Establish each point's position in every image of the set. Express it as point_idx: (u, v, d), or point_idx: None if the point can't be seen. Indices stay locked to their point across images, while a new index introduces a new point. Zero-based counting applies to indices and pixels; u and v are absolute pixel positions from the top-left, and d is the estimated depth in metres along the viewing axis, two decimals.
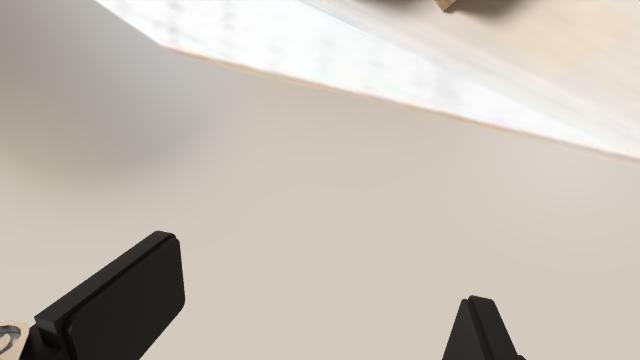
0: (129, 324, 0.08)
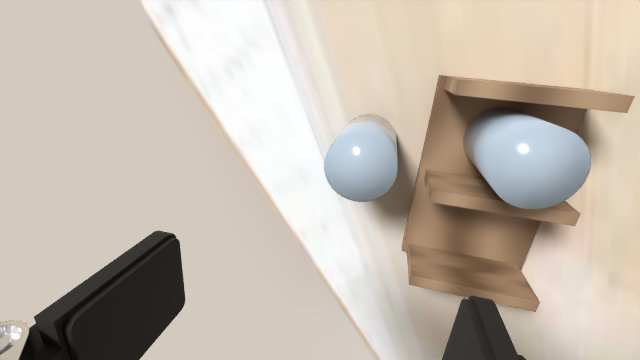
0: (129, 324, 0.08)
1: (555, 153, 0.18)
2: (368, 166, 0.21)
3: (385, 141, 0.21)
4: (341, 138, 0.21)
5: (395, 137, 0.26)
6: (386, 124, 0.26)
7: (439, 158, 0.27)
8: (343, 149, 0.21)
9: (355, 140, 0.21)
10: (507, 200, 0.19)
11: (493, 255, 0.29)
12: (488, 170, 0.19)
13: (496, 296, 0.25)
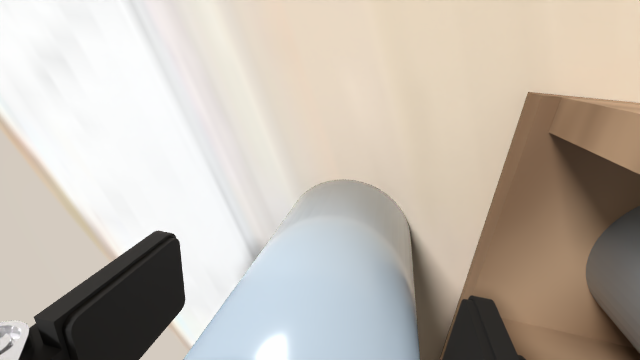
0: (129, 324, 0.08)
1: None
2: None
3: None
4: None
5: (409, 249, 0.10)
6: (386, 218, 0.10)
7: (517, 295, 0.11)
8: None
9: None
10: None
11: None
12: None
13: None
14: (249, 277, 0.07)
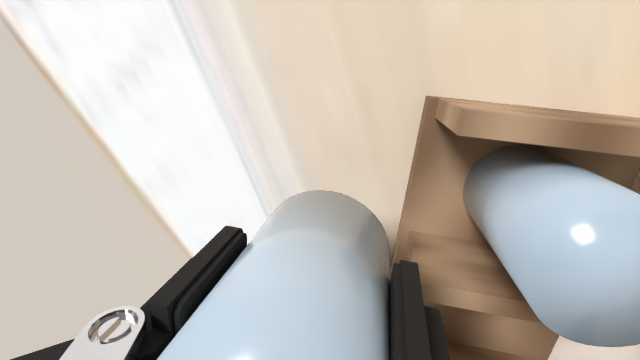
0: None
1: None
2: None
3: None
4: None
5: (385, 263, 0.10)
6: (361, 231, 0.10)
7: (428, 216, 0.18)
8: None
9: None
10: (558, 330, 0.10)
11: (505, 347, 0.20)
12: (523, 277, 0.10)
13: None
14: (209, 300, 0.07)
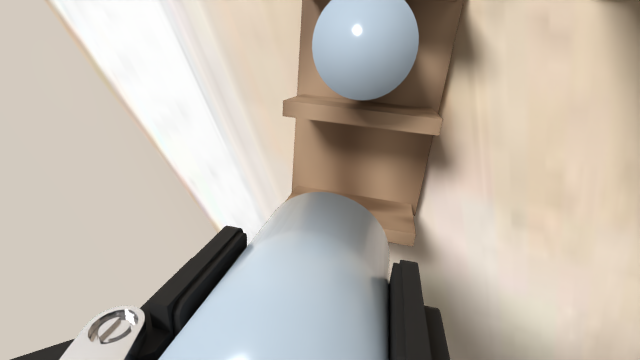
0: None
1: (378, 22, 0.14)
2: None
3: None
4: None
5: (385, 265, 0.10)
6: (360, 233, 0.10)
7: (315, 80, 0.24)
8: None
9: None
10: (337, 90, 0.16)
11: (385, 194, 0.26)
12: None
13: None
14: (208, 303, 0.07)
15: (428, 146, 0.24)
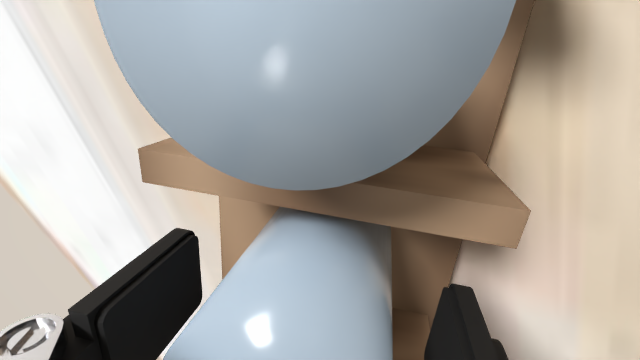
0: (153, 318, 0.09)
1: None
2: None
3: (348, 357, 0.06)
4: (196, 333, 0.06)
5: (388, 241, 0.11)
6: None
7: None
8: None
9: (241, 344, 0.06)
10: (206, 155, 0.05)
11: None
12: None
13: None
14: (239, 264, 0.08)
15: None
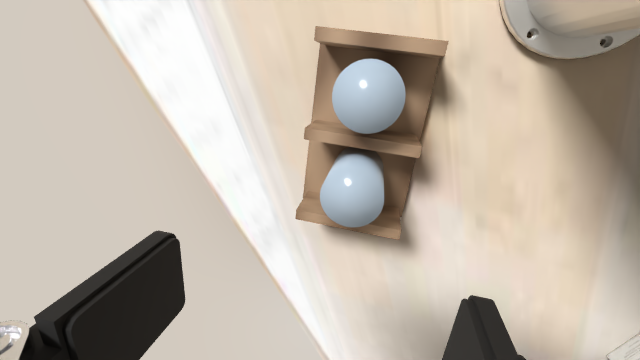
0: (129, 324, 0.08)
1: (378, 83, 0.21)
2: (358, 197, 0.24)
3: (374, 176, 0.24)
4: (335, 172, 0.24)
5: (382, 167, 0.29)
6: (374, 156, 0.29)
7: (326, 109, 0.31)
8: (337, 182, 0.24)
9: (347, 174, 0.24)
10: (348, 126, 0.23)
11: None
12: None
13: (366, 226, 0.28)
14: (337, 164, 0.26)
15: (412, 163, 0.31)
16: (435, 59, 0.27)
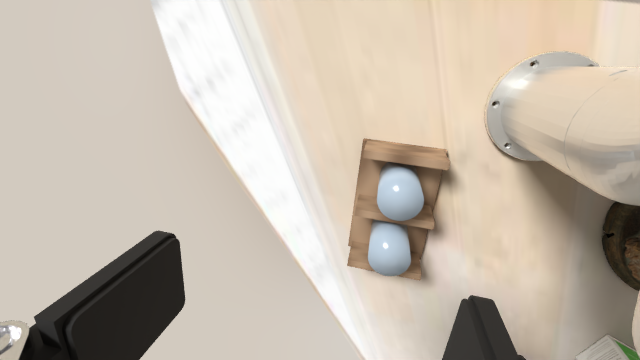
0: (129, 324, 0.08)
1: (406, 192, 0.34)
2: (394, 258, 0.38)
3: (404, 245, 0.37)
4: (378, 242, 0.37)
5: (407, 229, 0.42)
6: None
7: (366, 187, 0.44)
8: (379, 248, 0.38)
9: (386, 244, 0.37)
10: (387, 216, 0.36)
11: None
12: (377, 200, 0.36)
13: None
14: (377, 233, 0.39)
15: None
16: None
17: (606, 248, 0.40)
